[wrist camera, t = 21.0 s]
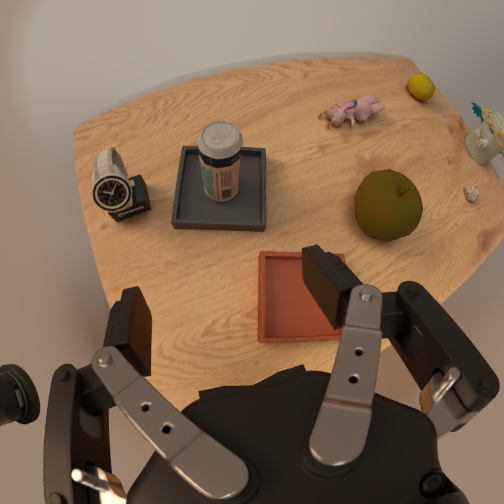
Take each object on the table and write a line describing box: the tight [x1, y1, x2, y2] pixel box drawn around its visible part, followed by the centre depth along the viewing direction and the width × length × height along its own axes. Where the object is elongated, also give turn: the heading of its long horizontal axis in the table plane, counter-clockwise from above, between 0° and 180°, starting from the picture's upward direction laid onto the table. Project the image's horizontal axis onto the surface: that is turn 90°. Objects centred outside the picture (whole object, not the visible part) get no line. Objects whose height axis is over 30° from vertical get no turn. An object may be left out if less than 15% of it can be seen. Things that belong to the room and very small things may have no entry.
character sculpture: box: [465, 103, 504, 165], centre depth 41 cm, size 20×12×13 cm, turn 19°
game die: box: [465, 185, 480, 201], centre depth 42 cm, size 4×4×3 cm
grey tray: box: [171, 146, 266, 232], centre depth 37 cm, size 12×12×2 cm
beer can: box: [197, 121, 243, 202], centre depth 31 cm, size 5×5×12 cm
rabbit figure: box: [319, 96, 385, 129], centre depth 41 cm, size 6×6×15 cm
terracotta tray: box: [258, 251, 345, 343], centre depth 34 cm, size 11×11×2 cm
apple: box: [355, 169, 423, 241], centre depth 34 cm, size 10×10×11 cm
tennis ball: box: [408, 73, 435, 100], centre depth 46 cm, size 7×7×7 cm
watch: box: [92, 147, 151, 222], centre depth 31 cm, size 6×8×11 cm
